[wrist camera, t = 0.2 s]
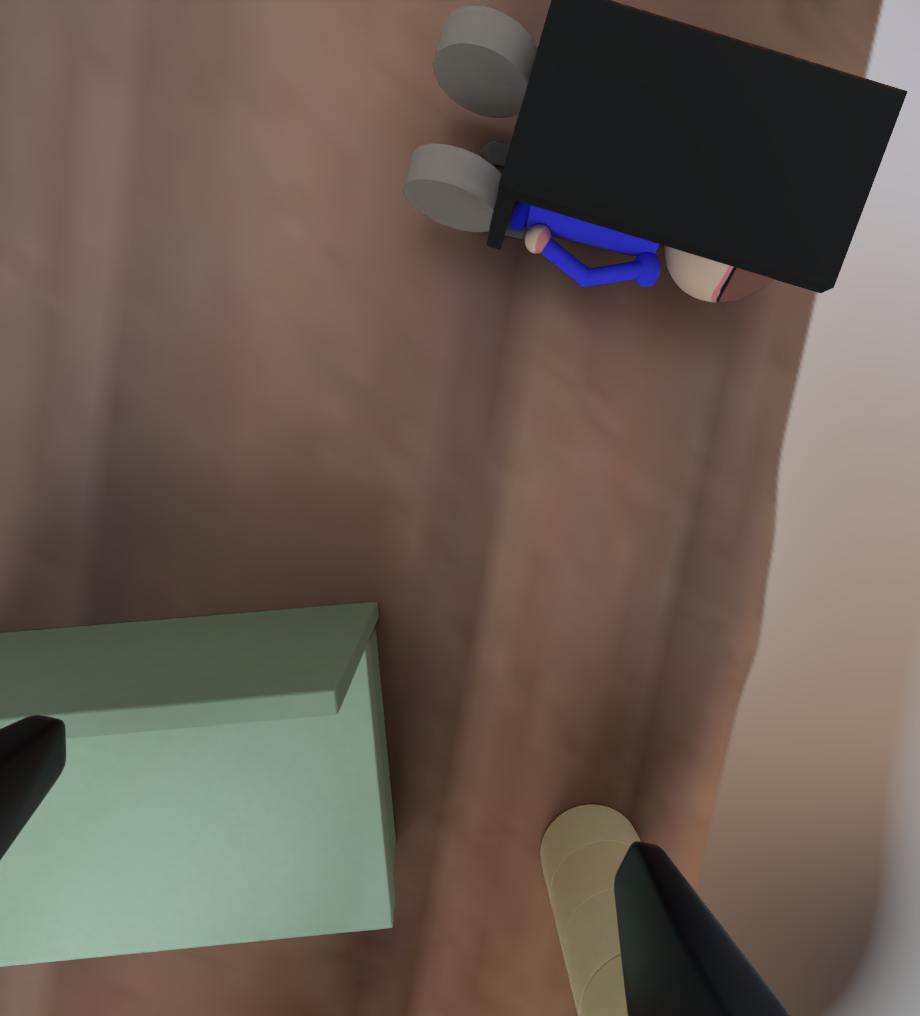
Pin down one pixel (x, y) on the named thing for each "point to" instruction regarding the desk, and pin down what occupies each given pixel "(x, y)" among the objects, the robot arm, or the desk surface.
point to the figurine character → (655, 148)
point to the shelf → (201, 784)
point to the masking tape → (588, 902)
